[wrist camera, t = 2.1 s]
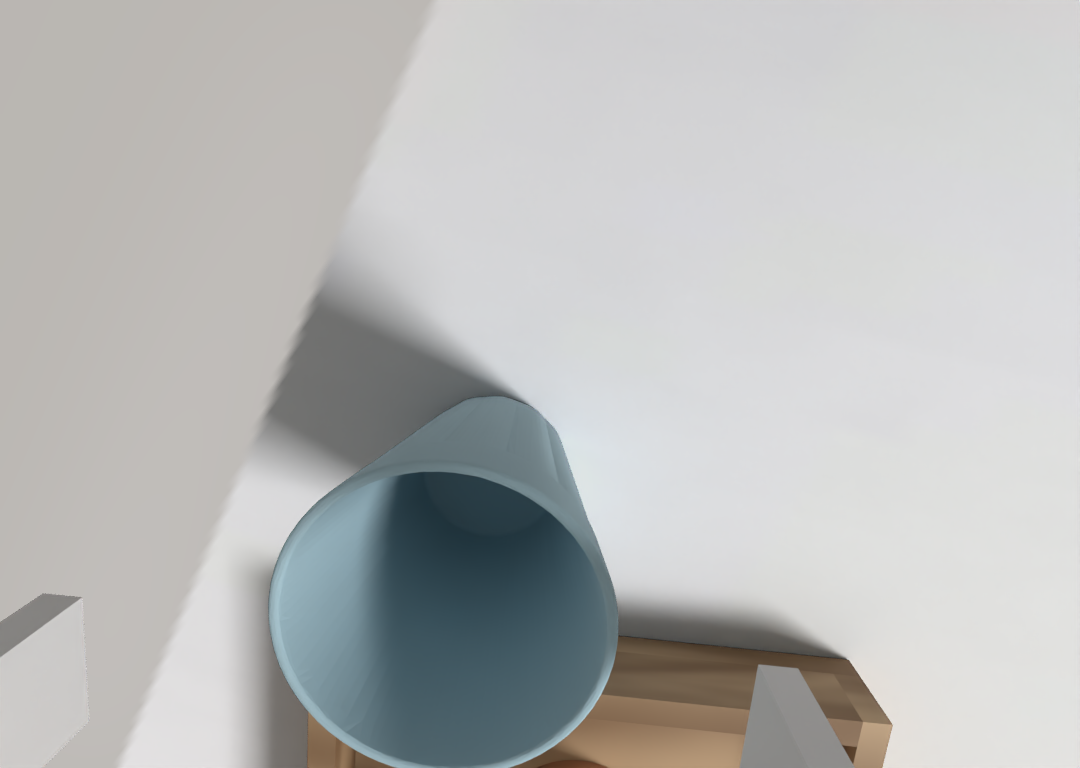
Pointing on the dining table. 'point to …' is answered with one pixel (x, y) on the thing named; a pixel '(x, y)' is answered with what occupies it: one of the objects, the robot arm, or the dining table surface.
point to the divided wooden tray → (682, 711)
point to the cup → (449, 597)
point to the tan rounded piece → (572, 764)
